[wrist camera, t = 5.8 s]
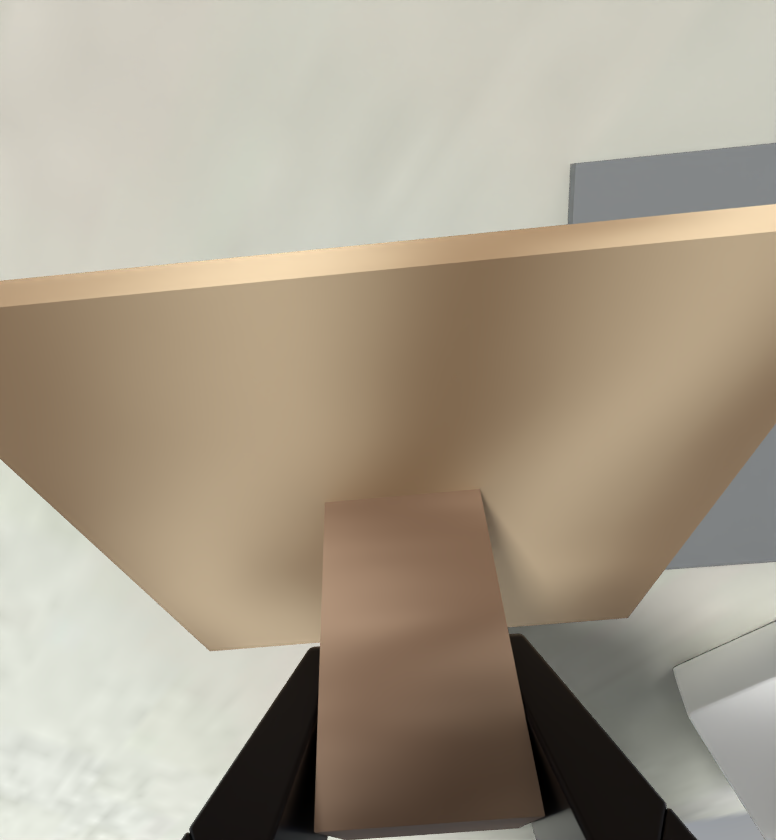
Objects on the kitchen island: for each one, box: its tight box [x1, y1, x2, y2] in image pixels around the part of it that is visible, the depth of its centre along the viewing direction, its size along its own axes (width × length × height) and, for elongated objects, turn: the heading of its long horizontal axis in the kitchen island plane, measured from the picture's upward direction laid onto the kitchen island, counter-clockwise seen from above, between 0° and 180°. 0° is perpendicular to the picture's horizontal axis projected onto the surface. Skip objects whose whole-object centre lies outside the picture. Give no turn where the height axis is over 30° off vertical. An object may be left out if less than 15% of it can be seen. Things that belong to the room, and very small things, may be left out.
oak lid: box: [0, 204, 776, 840], centre depth 10 cm, size 13×13×6 cm
